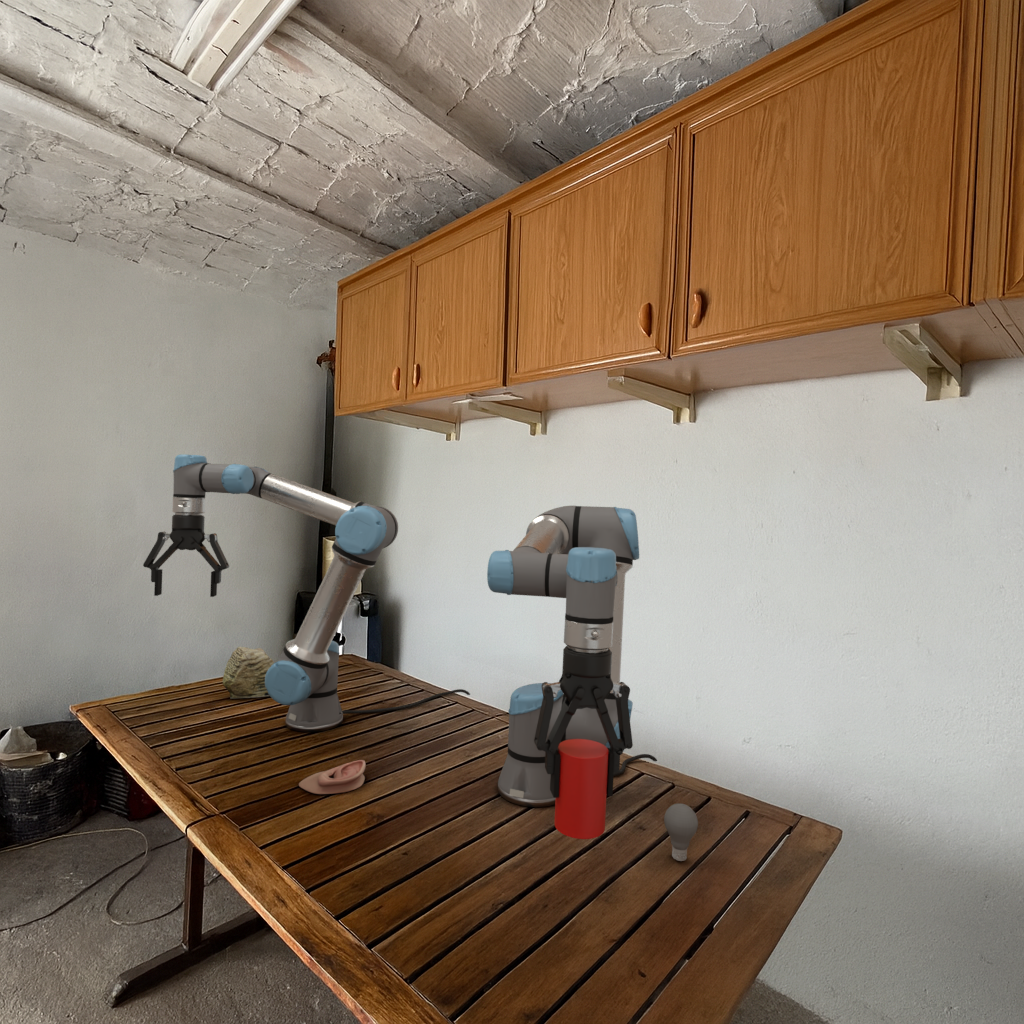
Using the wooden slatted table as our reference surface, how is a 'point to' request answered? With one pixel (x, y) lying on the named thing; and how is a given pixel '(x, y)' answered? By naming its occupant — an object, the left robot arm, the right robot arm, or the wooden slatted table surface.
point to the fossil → (247, 673)
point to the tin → (582, 789)
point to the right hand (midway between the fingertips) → (581, 792)
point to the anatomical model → (336, 779)
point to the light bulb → (680, 828)
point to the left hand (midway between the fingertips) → (185, 595)
